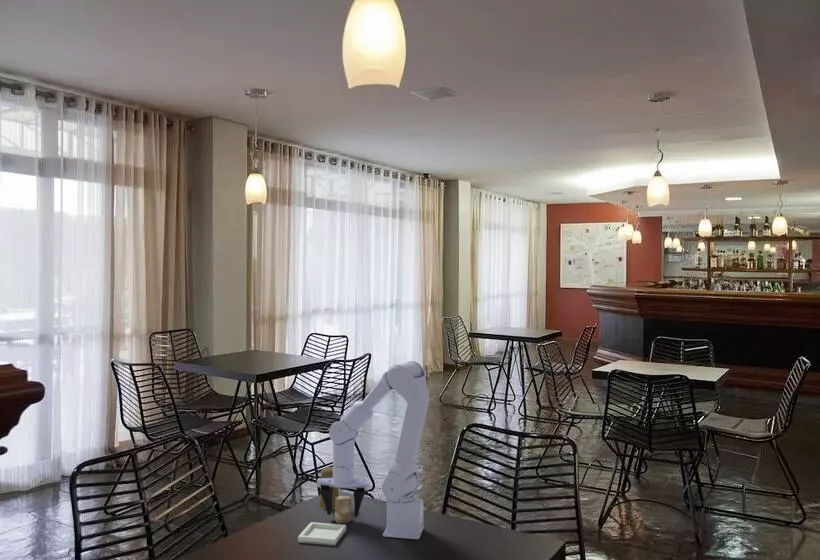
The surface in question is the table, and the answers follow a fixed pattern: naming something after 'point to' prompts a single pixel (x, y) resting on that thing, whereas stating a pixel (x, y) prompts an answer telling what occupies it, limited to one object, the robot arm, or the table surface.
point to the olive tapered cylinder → (328, 473)
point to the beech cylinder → (343, 509)
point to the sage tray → (322, 533)
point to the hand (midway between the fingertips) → (343, 514)
